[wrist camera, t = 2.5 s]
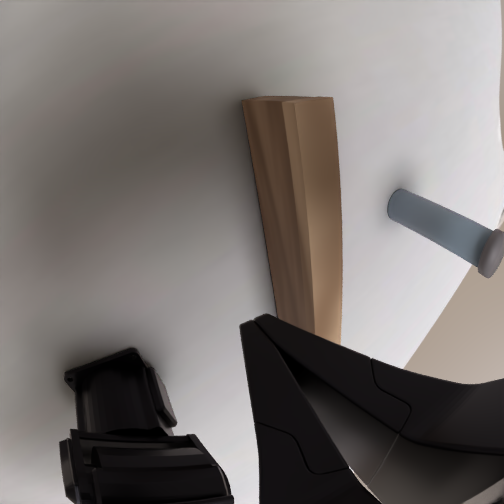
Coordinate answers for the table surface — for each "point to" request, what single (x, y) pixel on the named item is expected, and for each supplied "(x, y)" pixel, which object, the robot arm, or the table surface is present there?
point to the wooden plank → (300, 206)
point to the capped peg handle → (449, 230)
